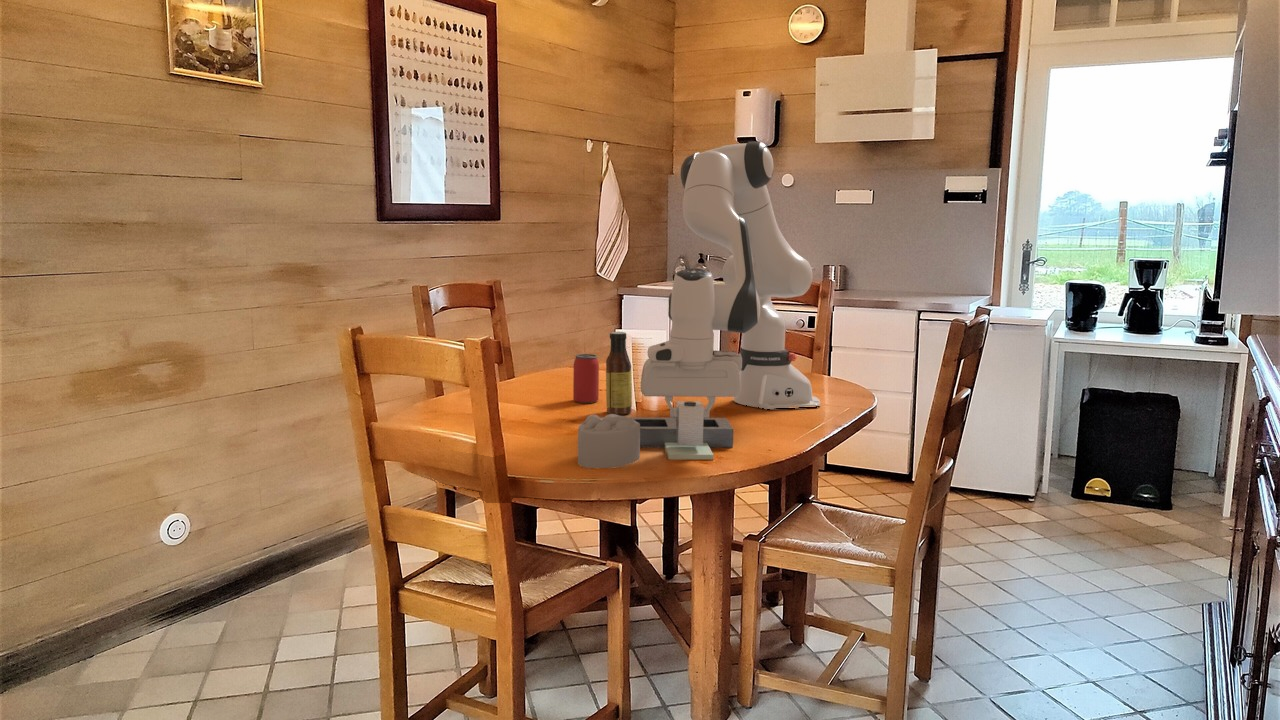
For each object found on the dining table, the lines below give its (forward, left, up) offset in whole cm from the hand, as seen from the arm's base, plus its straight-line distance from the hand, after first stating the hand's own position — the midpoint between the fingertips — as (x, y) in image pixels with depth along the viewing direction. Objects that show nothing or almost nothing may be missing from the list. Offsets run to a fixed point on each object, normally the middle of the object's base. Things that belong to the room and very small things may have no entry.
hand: (689, 417), depth 174 cm
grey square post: (0, 0, -5) cm, 5 cm away
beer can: (+21, -49, -8) cm, 54 cm away
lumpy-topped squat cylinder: (+17, +5, -8) cm, 19 cm away
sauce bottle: (+13, -36, -8) cm, 39 cm away
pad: (0, 0, -8) cm, 8 cm away
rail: (+2, -9, -8) cm, 12 cm away
